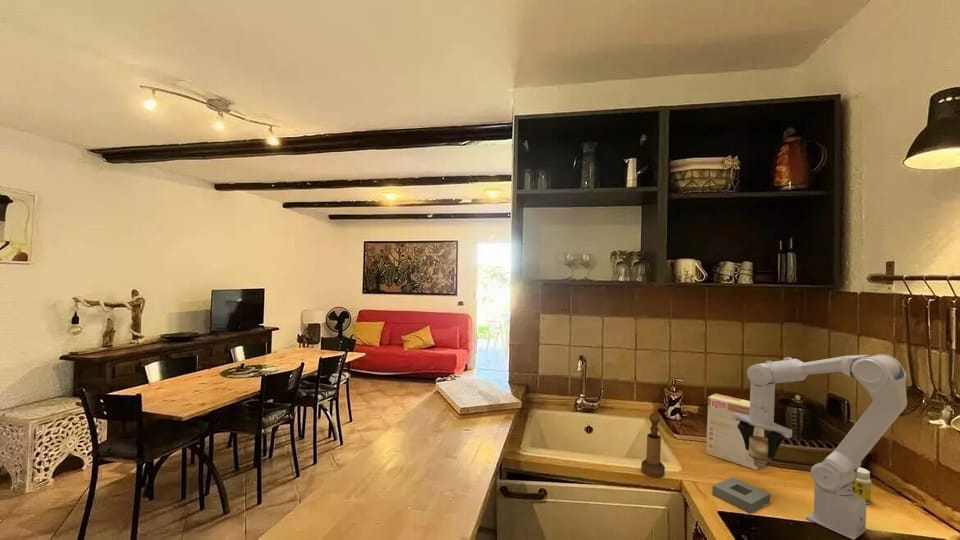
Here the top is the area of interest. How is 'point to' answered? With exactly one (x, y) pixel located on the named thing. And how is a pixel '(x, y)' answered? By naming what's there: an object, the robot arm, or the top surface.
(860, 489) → the supplement bottle
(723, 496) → the grey slotted base
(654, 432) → the mortar and pestle
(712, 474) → the top surface
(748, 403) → the coffeecake box
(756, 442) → the beech peg
